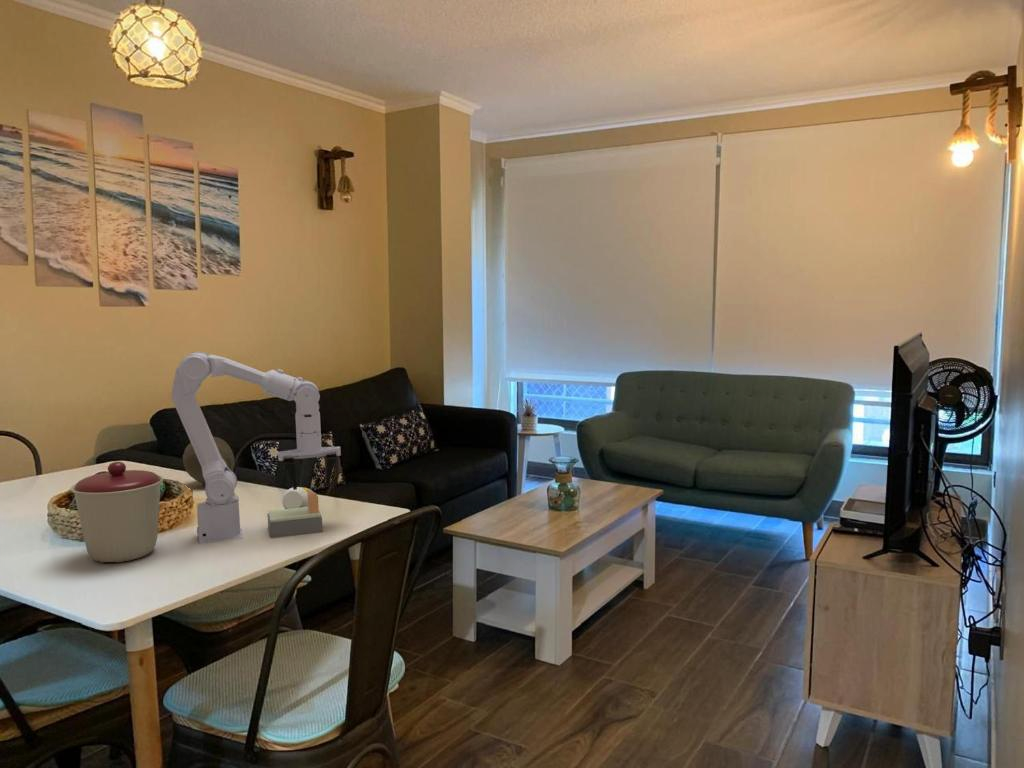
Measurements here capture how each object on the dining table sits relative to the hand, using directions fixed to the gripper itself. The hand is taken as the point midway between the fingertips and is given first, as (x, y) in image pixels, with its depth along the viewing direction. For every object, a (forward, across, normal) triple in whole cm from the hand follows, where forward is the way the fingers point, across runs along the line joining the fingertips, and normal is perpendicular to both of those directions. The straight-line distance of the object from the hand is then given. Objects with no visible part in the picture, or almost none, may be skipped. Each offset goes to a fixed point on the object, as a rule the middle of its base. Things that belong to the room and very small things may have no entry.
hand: (311, 487), depth 186 cm
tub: (+10, +4, 0) cm, 11 cm away
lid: (+6, +4, 0) cm, 8 cm away
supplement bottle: (+7, 0, -17) cm, 18 cm away
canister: (+10, +41, +3) cm, 43 cm away
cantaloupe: (+11, +24, -59) cm, 64 cm away
